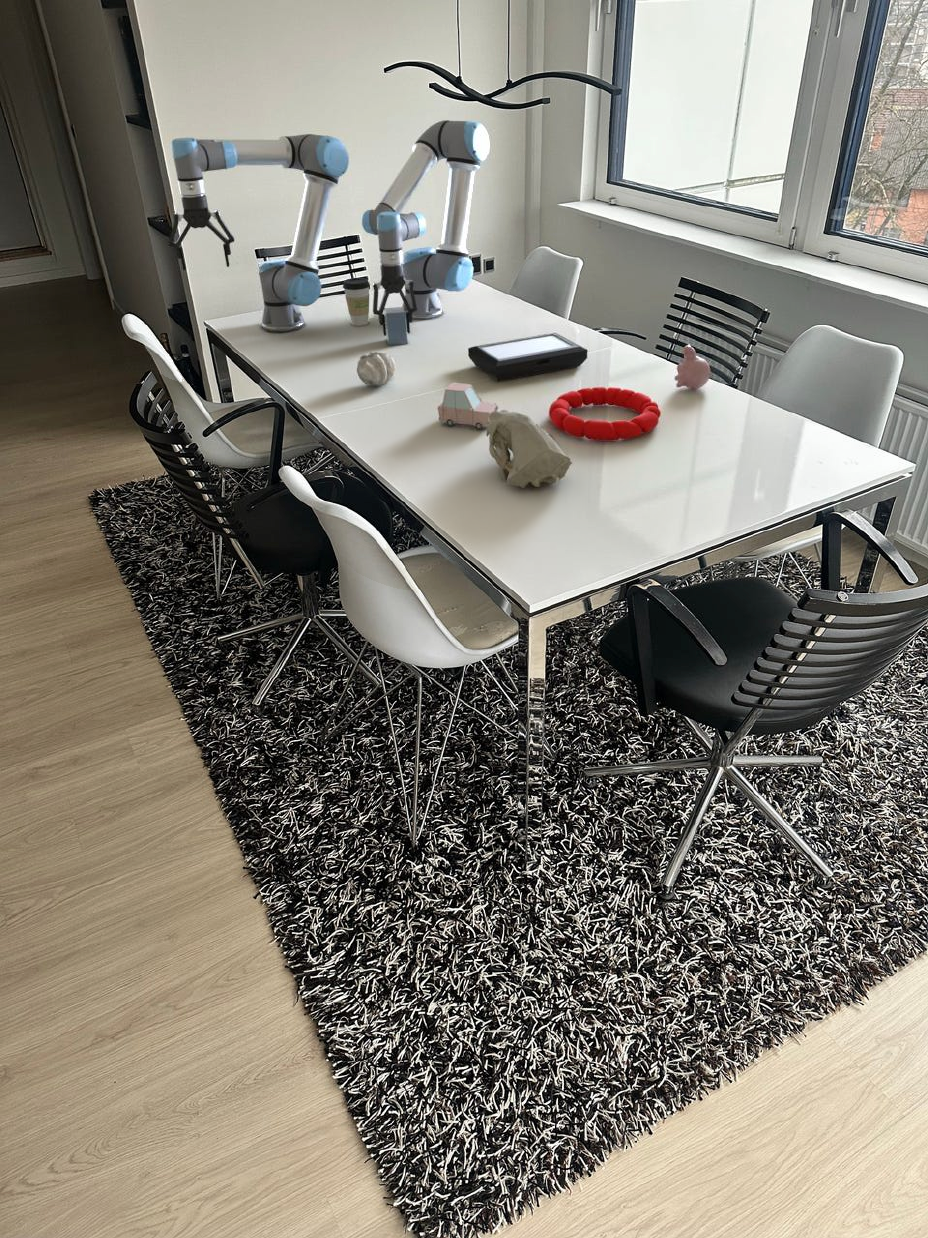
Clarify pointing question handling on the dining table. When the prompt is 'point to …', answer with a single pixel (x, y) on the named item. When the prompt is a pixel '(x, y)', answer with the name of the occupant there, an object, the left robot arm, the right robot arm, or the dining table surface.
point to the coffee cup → (357, 300)
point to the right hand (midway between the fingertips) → (396, 333)
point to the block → (395, 326)
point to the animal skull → (525, 450)
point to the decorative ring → (604, 428)
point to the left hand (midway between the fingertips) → (206, 267)
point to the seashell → (375, 368)
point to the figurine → (692, 370)
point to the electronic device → (527, 356)
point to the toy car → (465, 406)
